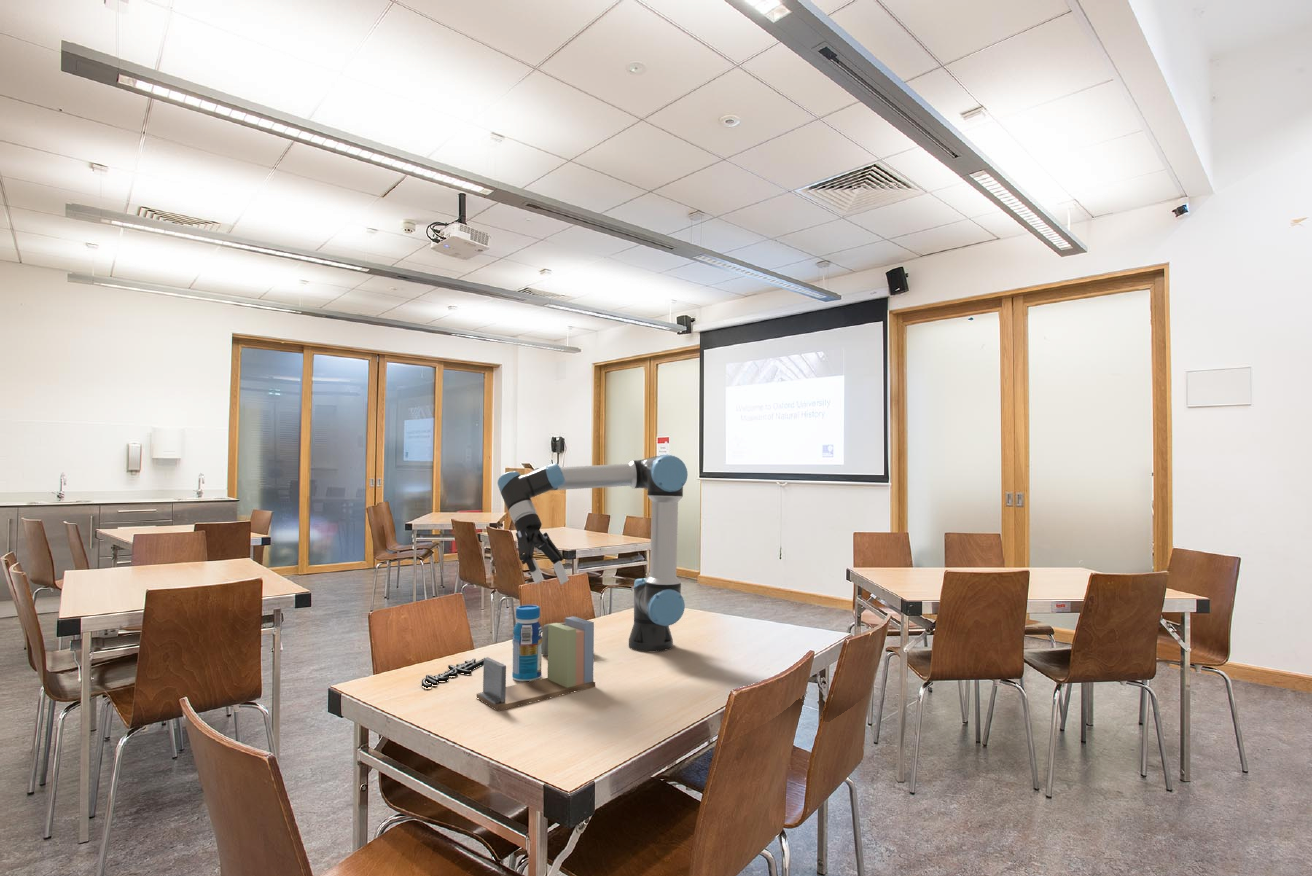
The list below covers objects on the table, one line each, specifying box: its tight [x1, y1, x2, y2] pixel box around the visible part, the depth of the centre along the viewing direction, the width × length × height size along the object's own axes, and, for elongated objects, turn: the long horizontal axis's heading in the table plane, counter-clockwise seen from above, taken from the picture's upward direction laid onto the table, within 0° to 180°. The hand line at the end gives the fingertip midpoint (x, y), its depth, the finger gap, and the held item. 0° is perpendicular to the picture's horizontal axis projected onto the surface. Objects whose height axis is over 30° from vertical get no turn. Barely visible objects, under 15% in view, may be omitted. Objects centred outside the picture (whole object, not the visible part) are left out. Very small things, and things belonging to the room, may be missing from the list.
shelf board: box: [476, 677, 596, 711], centre depth 171 cm, size 29×12×1 cm, turn 130°
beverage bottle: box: [511, 604, 543, 682], centre depth 184 cm, size 8×8×20 cm
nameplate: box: [421, 658, 484, 688], centre depth 186 cm, size 28×2×10 cm
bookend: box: [478, 656, 507, 704], centre depth 163 cm, size 2×10×9 cm, turn 40°
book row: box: [547, 616, 595, 688], centre depth 178 cm, size 8×10×16 cm
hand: (552, 582), depth 185 cm, fingers open, 13 cm apart
